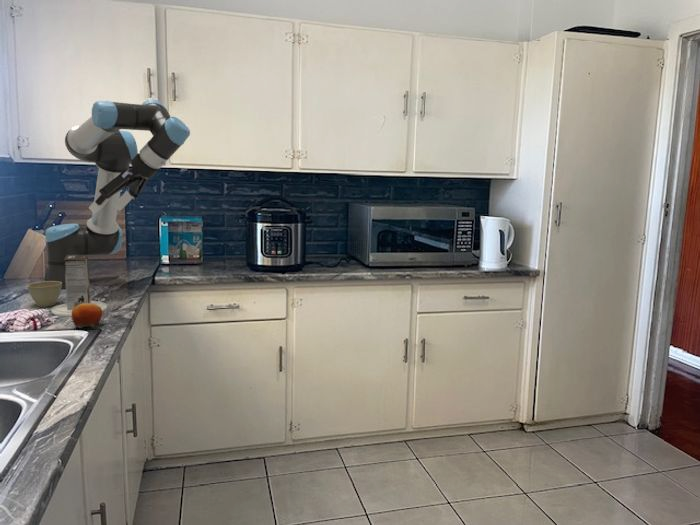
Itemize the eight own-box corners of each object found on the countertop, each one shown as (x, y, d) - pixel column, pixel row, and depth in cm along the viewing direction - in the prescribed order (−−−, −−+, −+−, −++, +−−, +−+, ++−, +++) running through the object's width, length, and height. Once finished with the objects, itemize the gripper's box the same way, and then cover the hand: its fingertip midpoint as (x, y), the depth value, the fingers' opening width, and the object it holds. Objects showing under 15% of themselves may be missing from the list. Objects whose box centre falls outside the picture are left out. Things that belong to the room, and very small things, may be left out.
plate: (72, 303, 184) (71, 299, 184) (116, 305, 182) (116, 301, 182) (40, 315, 169) (39, 310, 168) (88, 317, 167) (87, 313, 166)
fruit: (70, 328, 151) (70, 300, 154) (73, 335, 158) (72, 309, 160) (102, 325, 154) (101, 298, 157) (103, 332, 161) (102, 306, 164)
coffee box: (69, 303, 178) (66, 254, 175) (91, 302, 180) (88, 254, 178) (66, 310, 170) (62, 259, 167) (89, 308, 172) (86, 258, 169)
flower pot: (55, 299, 188) (54, 279, 187) (68, 304, 182) (67, 283, 181) (24, 305, 180) (22, 283, 179) (36, 310, 174) (34, 288, 173)
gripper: (136, 170, 152) (89, 221, 157) (175, 170, 177) (134, 215, 181) (117, 150, 152) (71, 203, 156) (159, 153, 176) (118, 198, 181)
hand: (105, 209), depth 169 cm, fingers open, 13 cm apart
